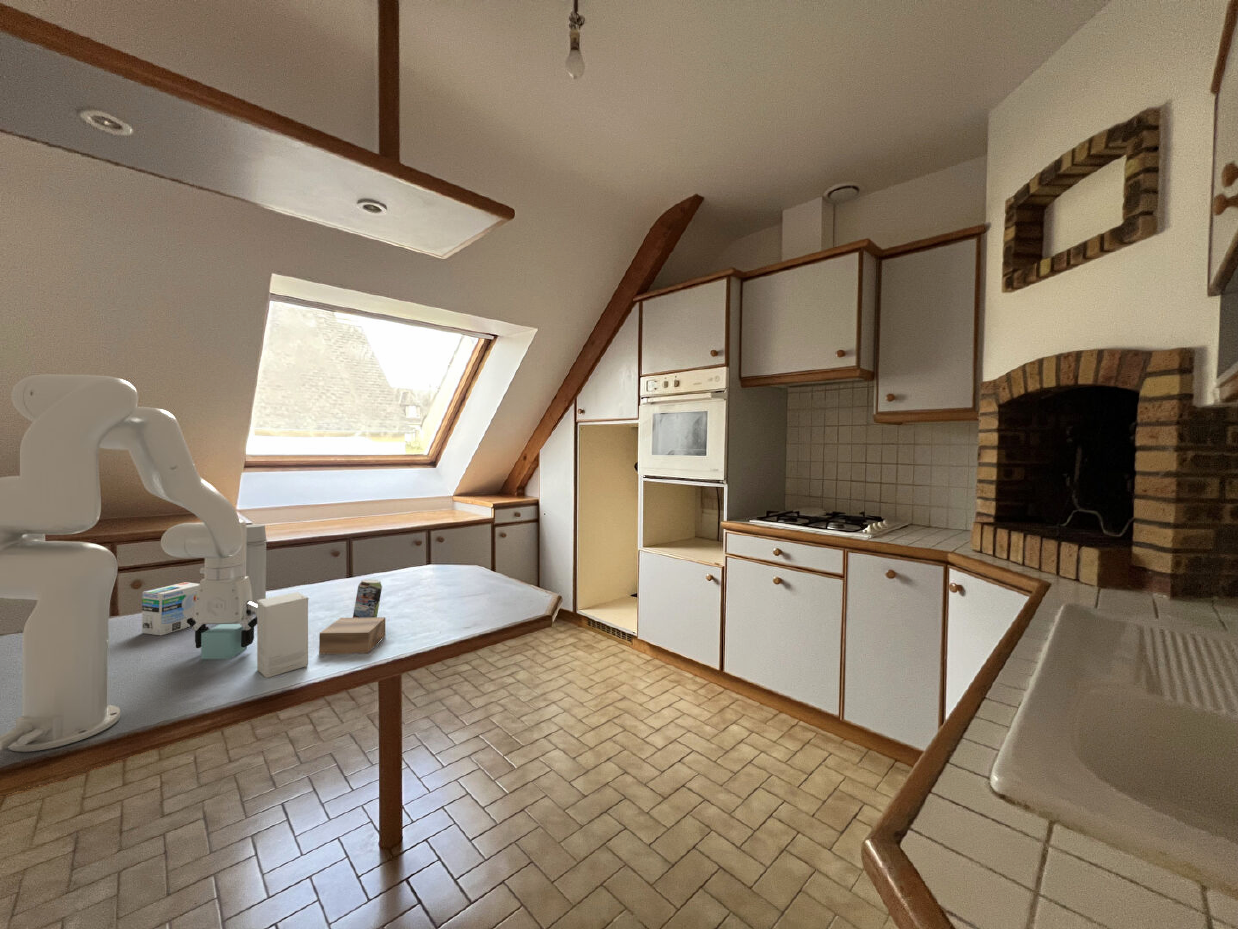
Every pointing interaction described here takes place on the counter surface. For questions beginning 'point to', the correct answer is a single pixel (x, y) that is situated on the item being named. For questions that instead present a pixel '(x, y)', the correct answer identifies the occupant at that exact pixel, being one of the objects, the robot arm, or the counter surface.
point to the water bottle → (256, 560)
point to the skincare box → (282, 634)
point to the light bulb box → (167, 608)
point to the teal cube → (221, 642)
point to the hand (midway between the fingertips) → (224, 645)
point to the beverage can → (367, 599)
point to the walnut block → (352, 635)
